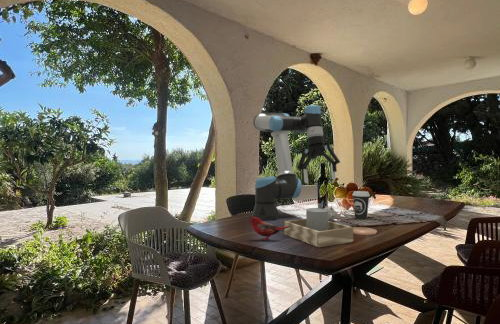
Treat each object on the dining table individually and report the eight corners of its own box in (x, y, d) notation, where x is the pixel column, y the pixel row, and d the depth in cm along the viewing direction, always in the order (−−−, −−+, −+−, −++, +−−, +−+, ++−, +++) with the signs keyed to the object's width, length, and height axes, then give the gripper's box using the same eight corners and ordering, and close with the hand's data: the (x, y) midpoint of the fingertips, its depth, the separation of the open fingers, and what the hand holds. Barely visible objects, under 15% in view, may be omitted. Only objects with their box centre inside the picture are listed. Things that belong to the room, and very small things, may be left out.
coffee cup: (372, 219, 189) (372, 192, 189) (354, 219, 189) (355, 192, 189) (366, 216, 199) (366, 190, 198) (350, 216, 199) (350, 190, 198)
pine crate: (283, 234, 156) (283, 221, 155) (315, 230, 164) (315, 217, 164) (319, 247, 134) (319, 232, 134) (353, 241, 143) (353, 227, 143)
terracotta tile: (344, 230, 162) (344, 228, 162) (362, 228, 168) (362, 226, 168) (363, 236, 152) (363, 234, 152) (382, 233, 158) (382, 231, 158)
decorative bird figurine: (249, 238, 148) (249, 215, 148) (290, 239, 146) (290, 216, 146) (248, 240, 145) (248, 217, 145) (290, 241, 143) (290, 217, 143)
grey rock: (332, 228, 185) (338, 215, 179) (317, 222, 187) (323, 209, 181) (334, 217, 192) (340, 205, 186) (320, 211, 194) (326, 199, 188)
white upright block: (314, 234, 156) (314, 207, 156) (332, 238, 149) (332, 210, 149) (301, 237, 149) (301, 210, 149) (320, 242, 143) (320, 212, 142)
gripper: (288, 140, 167) (292, 183, 163) (337, 130, 153) (343, 176, 149) (295, 143, 173) (299, 184, 169) (343, 133, 160) (348, 178, 156)
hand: (319, 181), depth 159 cm, fingers open, 13 cm apart
